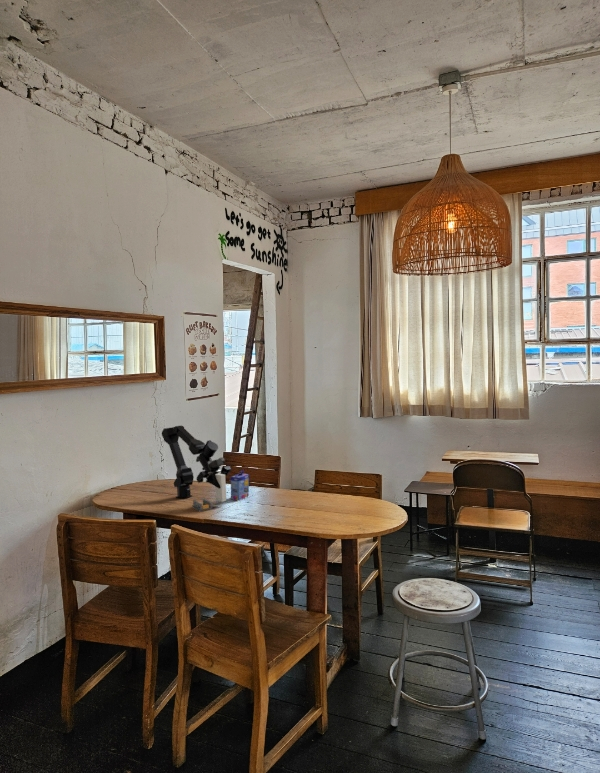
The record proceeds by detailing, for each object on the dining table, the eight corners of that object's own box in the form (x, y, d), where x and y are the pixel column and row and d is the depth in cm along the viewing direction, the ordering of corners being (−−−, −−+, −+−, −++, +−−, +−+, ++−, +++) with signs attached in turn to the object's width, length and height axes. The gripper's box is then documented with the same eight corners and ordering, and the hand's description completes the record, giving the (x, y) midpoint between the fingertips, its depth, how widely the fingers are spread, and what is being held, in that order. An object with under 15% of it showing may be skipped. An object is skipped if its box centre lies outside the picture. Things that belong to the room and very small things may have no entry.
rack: (192, 507, 260) (192, 500, 260) (205, 504, 264) (205, 498, 264) (199, 511, 252) (198, 504, 252) (212, 508, 256) (212, 502, 256)
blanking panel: (215, 500, 262) (214, 474, 261) (219, 499, 264) (218, 473, 263) (222, 501, 258) (221, 475, 258) (226, 500, 260) (225, 474, 260)
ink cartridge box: (239, 501, 269) (238, 473, 269) (230, 500, 272) (229, 472, 271) (249, 496, 278) (248, 469, 277) (241, 495, 281) (240, 468, 280)
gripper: (199, 455, 255) (214, 481, 249) (228, 450, 270) (243, 473, 263) (189, 469, 261) (204, 495, 254) (218, 463, 275) (233, 487, 268)
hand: (222, 487), depth 260 cm, fingers closed on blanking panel, 2 cm apart
